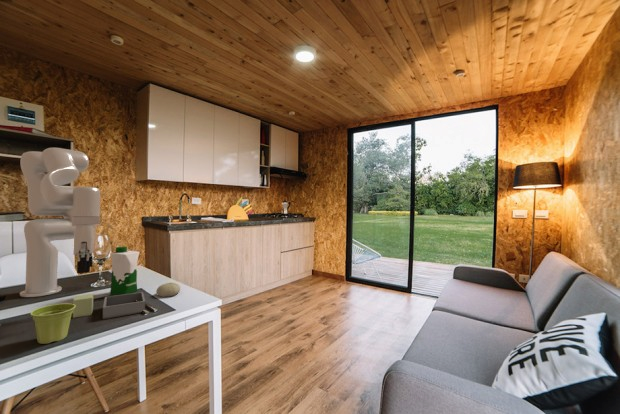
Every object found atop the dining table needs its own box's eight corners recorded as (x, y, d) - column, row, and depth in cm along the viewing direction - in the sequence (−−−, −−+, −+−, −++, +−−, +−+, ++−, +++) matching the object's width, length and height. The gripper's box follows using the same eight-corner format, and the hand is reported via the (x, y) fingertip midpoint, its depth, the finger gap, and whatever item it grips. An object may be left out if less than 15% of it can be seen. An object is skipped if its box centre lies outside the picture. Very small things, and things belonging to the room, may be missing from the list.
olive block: (74, 312, 95) (75, 296, 95) (92, 310, 98) (93, 293, 98) (72, 317, 91) (73, 300, 91) (91, 314, 94) (92, 297, 94)
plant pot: (49, 331, 81) (50, 303, 81) (82, 331, 82) (83, 303, 82) (18, 347, 72) (20, 315, 72) (56, 347, 73) (57, 315, 73)
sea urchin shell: (151, 290, 116) (165, 275, 120) (164, 300, 120) (177, 285, 124) (158, 295, 110) (173, 279, 114) (172, 305, 114) (186, 289, 118)
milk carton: (124, 289, 122) (125, 245, 122) (141, 291, 120) (142, 246, 120) (106, 295, 114) (107, 248, 113) (123, 297, 112) (125, 249, 112)
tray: (104, 307, 100) (104, 296, 100) (142, 301, 107) (143, 291, 107) (102, 319, 90) (103, 307, 90) (144, 312, 97) (145, 301, 97)
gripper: (75, 220, 99) (74, 266, 99) (67, 223, 85) (66, 276, 85) (101, 220, 104) (100, 264, 103) (97, 222, 89) (96, 273, 89)
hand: (85, 269), depth 94 cm, fingers open, 9 cm apart
